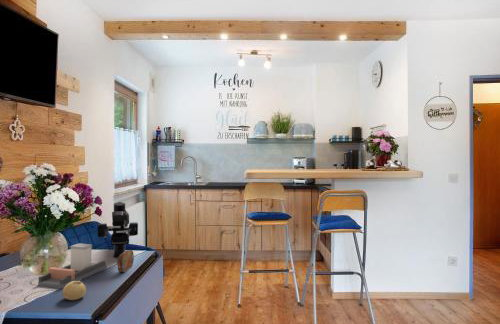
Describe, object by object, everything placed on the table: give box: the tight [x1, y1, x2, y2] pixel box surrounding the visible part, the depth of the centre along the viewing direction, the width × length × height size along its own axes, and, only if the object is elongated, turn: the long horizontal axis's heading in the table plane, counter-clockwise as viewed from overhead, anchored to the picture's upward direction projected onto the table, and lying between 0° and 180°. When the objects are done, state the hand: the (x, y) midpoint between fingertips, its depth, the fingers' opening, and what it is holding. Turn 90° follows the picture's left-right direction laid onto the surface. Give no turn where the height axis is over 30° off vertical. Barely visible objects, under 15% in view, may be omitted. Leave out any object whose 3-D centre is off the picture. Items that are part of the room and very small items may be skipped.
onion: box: [61, 279, 87, 301], centre depth 133 cm, size 8×8×7 cm
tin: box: [116, 249, 135, 273], centre depth 168 cm, size 15×3×8 cm, turn 179°
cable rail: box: [37, 259, 107, 290], centre depth 157 cm, size 28×12×6 cm, turn 167°
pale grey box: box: [70, 242, 93, 271], centre depth 161 cm, size 5×7×11 cm
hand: (117, 236), depth 166 cm, fingers open, 9 cm apart
